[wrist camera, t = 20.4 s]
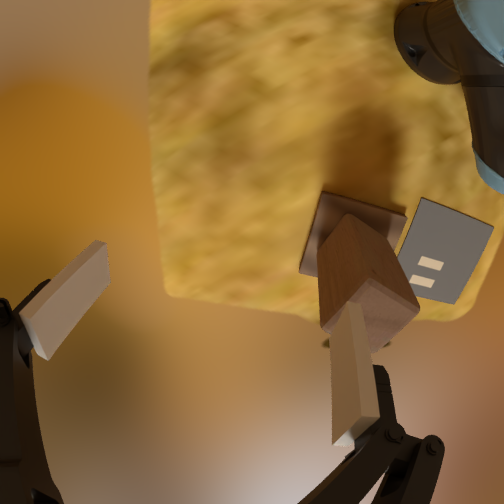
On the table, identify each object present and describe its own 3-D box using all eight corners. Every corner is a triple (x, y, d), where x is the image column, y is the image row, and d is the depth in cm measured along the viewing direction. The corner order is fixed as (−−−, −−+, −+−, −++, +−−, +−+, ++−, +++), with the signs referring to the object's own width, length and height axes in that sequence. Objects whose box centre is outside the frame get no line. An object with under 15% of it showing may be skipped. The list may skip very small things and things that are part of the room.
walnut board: (322, 190, 48) (322, 193, 47) (404, 214, 48) (407, 218, 46) (299, 268, 56) (298, 273, 55) (374, 286, 56) (375, 290, 54)
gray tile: (421, 197, 45) (421, 198, 45) (493, 227, 45) (494, 227, 44) (382, 288, 56) (382, 288, 55) (453, 304, 55) (454, 304, 55)
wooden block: (346, 209, 48) (369, 275, 30) (389, 238, 49) (425, 310, 32) (313, 252, 52) (317, 331, 35) (356, 278, 54) (373, 358, 36)
